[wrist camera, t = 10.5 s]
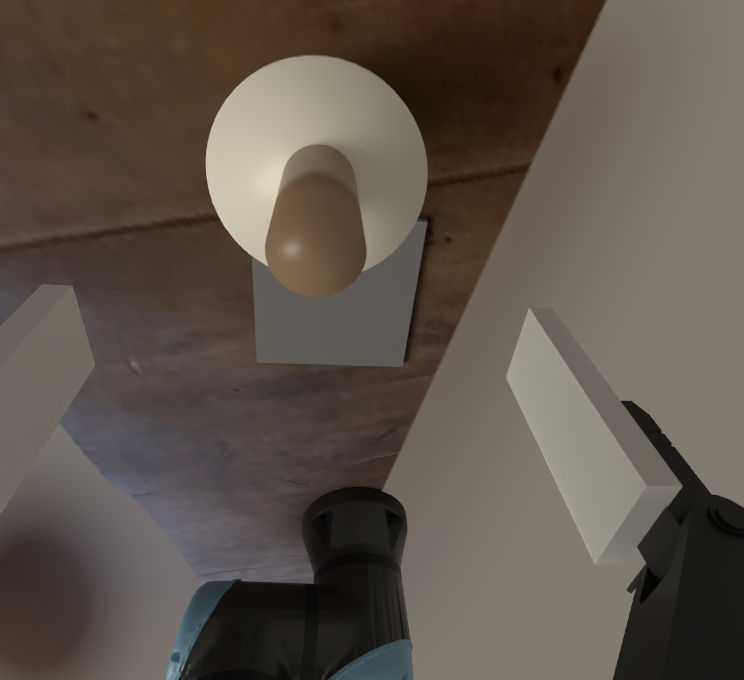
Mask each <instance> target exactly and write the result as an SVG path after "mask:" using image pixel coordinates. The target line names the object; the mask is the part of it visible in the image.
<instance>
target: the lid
mask: <svg viewBox="0 0 744 680" xmlns="http://www.w3.org/2000/svg"><path fill="white" fill-rule="evenodd" d="M206 176H207V182H208V188H209V192H210V195H211V198H212V202H213V204H214V207H215V209H216V211H217V213H218V216H219V218H220V219H221V221H222V223H223V224H224V226H225V228H226V229H227V230H228V232H229V233H230V234H231V236H232V237H233V238H234V240H235V241H236V242H237V243H238V244H239V245H240V246H241V247H242V248H243V249H244V250H245V251H247V252H248V253H249V254H250V255H252V256H253V257H254V258H255V259H257V260H259V261H260V262H262V263H263V264H265V265H266V266H269V268H270V270H271V272H272V274H273V275H274V276H275V278H276V279H277V280H278V281H279V282H280V283H281V284H282V285H284V286H285V287H286V288H288V289H290V290H291V291H293V292H295V293H298V294H301V295H305V296H310V297H324V296H330V295H334V294H336V293H339V292H341V291H343V290H345V289H346V288H348V287H349V286H350V285H351V284H353V283H354V282H355V280H356V279H357V278H358V277H359V275H360V274H361V272H363V271H365V270H367V269H369V268H371V267H373V266H375V265H377V264H378V263H380V262H381V261H383V260H384V259H386V258H387V257H388V256H389V255H390V254H392V253H393V252H394V251H395V250H396V249H397V248H398V247H399V246H400V245H401V243H402V242H403V241H404V240H405V239H406V237H407V236H408V234H409V233H410V232H411V230H412V229H413V227H414V225H415V223H416V221H417V219H418V217H419V214H420V211H421V209H422V206H423V203H424V198H425V194H426V188H427V178H428V172H427V158H426V151H425V146H424V143H423V139H422V136H421V133H420V131H419V128H418V126H417V124H416V122H415V119H414V118H413V116H412V114H411V113H410V111H409V109H408V108H407V106H406V105H405V103H404V102H403V101H402V100H401V98H400V97H399V96H398V95H397V93H396V92H395V91H394V90H393V89H392V88H391V87H390V86H389V85H388V84H387V83H386V82H385V81H383V80H382V79H381V78H380V77H378V76H377V75H375V74H374V73H373V72H371V71H370V70H368V69H366V68H364V67H362V66H360V65H358V64H356V63H354V62H351V61H348V60H345V59H342V58H339V57H333V56H328V55H315V54H306V55H298V56H291V57H287V58H284V59H280V60H277V61H275V62H272V63H270V64H268V65H266V66H264V67H262V68H260V69H259V70H257V71H256V72H254V73H253V74H251V75H250V76H248V77H247V78H246V79H245V80H244V81H243V82H242V83H241V84H240V85H239V86H237V87H236V88H235V90H234V91H233V92H232V93H231V94H230V96H229V97H228V98H227V99H226V101H225V102H224V104H223V105H222V107H221V109H220V110H219V112H218V114H217V116H216V118H215V121H214V123H213V126H212V128H211V132H210V136H209V140H208V144H207V153H206Z"/></svg>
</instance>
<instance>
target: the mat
mask: <svg viewBox="0 0 744 680" xmlns="http://www.w3.org/2000/svg"><path fill="white" fill-rule="evenodd" d="M426 228H427V219H423V218H418V219H417V221H416V223H415V225H414V227H413V229H412V230H411V232H410V233H409V234H408V236H407V237H406V239H405V240H404V241H403V242H402V243H401V245H400V246H399V247H398V248H397V249H396V250H395V251H394V252H393V253H392V254H390V255H389V256H388V257H387V258H386V259H384V260H383V261H381V262H380V263H378V264H377V265H375V266H373V267H371V268H369V269H367V270H365V271H363V272H361V274H360V275H359V277H358V278H357V279H356V280H355V282H354V283H353V284H351V285H350V286H349V287H348V288H346V289H345V290H343V291H341V292H339V293H336V294H334V295H330V296H324V297H310V296H305V295H301V294H298V293H295V292H293V291H291V290H290V289H288V288H286V287H285V286H284V285H282V284H281V283H280V282H279V281H278V280H277V279H276V278H275V276H274V275H273V274H272V272H271V270H270V268H269V266H266V265H265V264H263V263H262V262H260V261H259V260H257V259H255V258H254V257H253V256H252V269H253V291H254V312H255V334H256V355H257V362H262V363H294V364H326V365H358V366H389V367H403V361H404V355H405V350H406V344H407V338H408V332H409V326H410V321H411V315H412V309H413V303H414V298H415V292H416V286H417V280H418V274H419V269H420V263H421V257H422V251H423V246H424V240H425V234H426Z"/></svg>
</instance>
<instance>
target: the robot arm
mask: <svg viewBox="0 0 744 680" xmlns="http://www.w3.org/2000/svg"><path fill="white" fill-rule="evenodd" d="M94 366H95V362H94V359H93V355H92V352H91V349H90V345H89V342H88V338H87V335H86V331H85V328H84V324H83V321H82V317H81V314H80V310H79V307H78V304H77V300H76V297H75V293H74V290H73V286H65V285H45V284H42V285H41V286H40V287H39V288H38V289H37V290H36V291H35V292H34V293H33V294H32V295H31V296H30V297H29V298H28V299H27V300H26V301H25V302H24V303H23V304H22V305H21V306H20V307H19V308H18V309H17V310H16V311H15V312H14V313H13V314H12V315H11V316H10V317H9V318H8V319H7V320H6V321H5V322H4V323H3V324H2V325H1V326H0V514H1V513H2V511H3V510H4V508H5V506H6V505H7V503H8V502H9V500H10V499H11V497H12V495H13V494H14V492H15V491H16V489H17V488H18V486H19V484H20V483H21V481H22V480H23V478H24V477H25V475H26V473H27V472H28V470H29V469H30V467H31V466H32V464H33V462H34V461H35V459H36V458H37V456H38V454H39V453H40V451H41V450H42V448H43V446H44V445H45V443H46V442H47V440H48V439H49V437H50V436H51V434H52V432H53V431H54V429H55V428H56V426H57V425H58V423H59V421H60V420H61V418H62V417H63V415H64V414H65V412H66V410H67V409H68V407H69V406H70V404H71V403H72V401H73V399H74V398H75V396H76V395H77V393H78V392H79V390H80V388H81V387H82V385H83V384H84V382H85V381H86V379H87V377H88V376H89V374H90V373H91V371H92V370H93V368H94ZM506 378H507V380H508V383H509V385H510V387H511V389H512V391H513V393H514V395H515V397H516V399H517V402H518V403H519V406H520V408H521V410H522V412H523V414H524V416H525V418H526V420H527V423H528V425H529V427H530V429H531V431H532V433H533V435H534V437H535V439H536V441H537V444H538V446H539V448H540V450H541V452H542V454H543V456H544V458H545V460H546V462H547V465H548V467H549V469H550V471H551V473H552V475H553V477H554V479H555V481H556V483H557V486H558V488H559V490H560V492H561V494H562V496H563V498H564V500H565V502H566V504H567V506H568V509H569V511H570V513H571V515H572V517H573V519H574V521H575V523H576V525H577V528H578V530H579V532H580V534H581V536H582V538H583V540H584V542H585V544H586V546H587V549H588V551H589V553H590V555H591V557H592V559H593V561H594V563H595V564H626V563H627V562H628V561H629V560H630V558H631V557H632V555H633V554H634V553H635V551H636V550H637V548H638V549H639V551H640V553H641V555H642V556H643V558H644V560H645V562H646V565H645V566H644V567H643V568H642V570H641V571H640V572H639V573H638V575H637V576H636V577H635V579H634V580H633V582H632V583H631V584H630V586H629V587H628V589H627V591H628V592H630V593H632V592H633V591H634V589H635V588H636V591H635V595H634V599H633V603H632V606H631V610H630V614H629V618H628V622H627V626H626V630H625V634H624V638H623V642H622V646H621V650H620V654H619V657H618V661H617V665H616V669H615V674H614V677H613V680H744V508H743V507H741V506H740V505H738V504H736V503H735V502H733V501H731V500H729V499H726V498H724V497H721V496H718V495H712V494H711V493H710V492H709V491H708V489H707V488H706V487H705V486H704V484H703V483H702V482H701V480H700V479H699V478H698V477H697V475H696V474H695V473H694V472H693V470H692V469H691V468H690V466H689V465H688V464H687V463H686V461H685V460H684V459H683V457H682V456H681V455H680V453H678V451H677V450H676V448H675V447H672V446H671V444H672V443H671V442H670V441H669V439H668V438H667V437H666V436H665V434H662V433H661V429H660V428H659V427H658V425H657V424H656V423H655V421H654V420H653V419H652V418H651V416H650V415H649V414H647V413H646V412H645V411H644V410H642V409H641V408H640V407H639V406H637V405H636V404H635V403H633V402H632V401H620V400H619V398H618V397H617V396H616V394H615V393H614V392H613V390H612V389H611V388H610V386H609V385H608V383H607V382H606V381H605V379H604V378H603V377H602V375H601V374H600V373H599V371H598V370H597V368H596V367H595V366H594V364H593V363H592V362H591V360H590V359H589V358H588V356H587V355H586V354H585V352H584V351H583V349H582V348H581V347H580V345H579V344H578V343H577V341H576V340H575V339H574V337H573V336H572V335H571V333H570V332H569V330H568V329H567V328H566V326H565V325H564V323H563V322H562V321H561V319H560V318H559V317H558V316H557V314H556V313H555V311H554V310H553V309H543V308H529V310H528V313H527V316H526V319H525V322H524V325H523V328H522V331H521V334H520V337H519V340H518V343H517V346H516V349H515V352H514V355H513V358H512V361H511V364H510V367H509V370H508V373H507V376H506ZM406 535H407V521H406V514H405V510H404V508H403V506H402V504H401V503H400V502H399V501H398V500H397V499H396V498H394V497H393V496H391V495H389V494H387V493H385V492H382V491H379V490H374V489H368V488H350V489H343V490H339V491H335V492H332V493H329V494H327V495H325V496H323V497H321V498H319V499H318V500H316V501H315V502H314V503H312V504H311V505H310V506H309V508H308V509H307V510H306V512H305V514H304V518H303V540H304V543H305V547H306V550H307V553H308V556H309V559H310V563H311V566H312V569H313V572H314V584H302V583H275V582H248V581H242V580H241V579H235V580H232V581H211V582H207V583H205V584H204V585H202V586H201V587H200V588H199V589H198V590H197V591H196V592H195V594H194V595H193V597H192V599H191V601H190V603H189V605H188V607H187V610H186V612H185V615H184V617H183V619H182V622H181V625H180V628H179V631H178V634H177V637H176V640H175V644H174V647H173V654H172V657H171V660H170V663H169V666H168V670H167V675H166V680H413V666H412V655H411V652H412V642H411V641H410V635H409V628H408V621H407V613H406V605H405V598H404V591H403V584H402V577H401V568H400V566H401V560H402V555H403V550H404V545H405V540H406Z"/></svg>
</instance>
